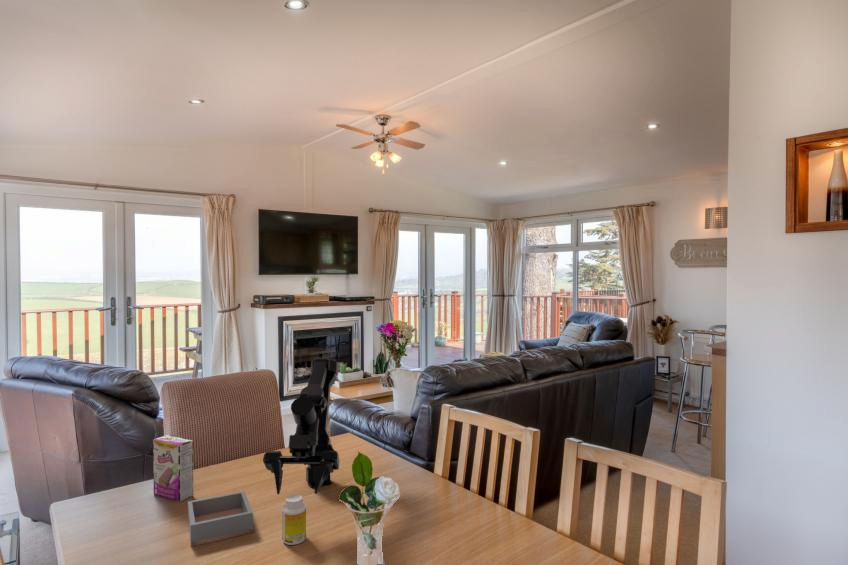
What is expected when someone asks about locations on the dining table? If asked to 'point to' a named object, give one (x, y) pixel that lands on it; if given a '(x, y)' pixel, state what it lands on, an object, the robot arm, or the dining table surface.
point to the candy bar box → (173, 467)
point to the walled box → (219, 518)
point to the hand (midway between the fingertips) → (296, 493)
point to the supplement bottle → (294, 520)
